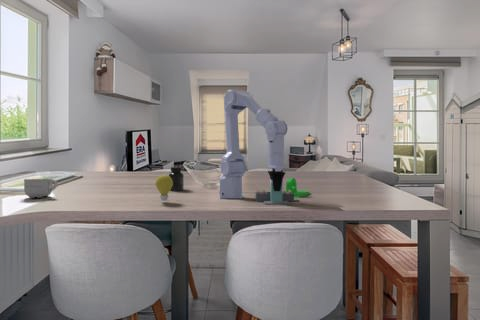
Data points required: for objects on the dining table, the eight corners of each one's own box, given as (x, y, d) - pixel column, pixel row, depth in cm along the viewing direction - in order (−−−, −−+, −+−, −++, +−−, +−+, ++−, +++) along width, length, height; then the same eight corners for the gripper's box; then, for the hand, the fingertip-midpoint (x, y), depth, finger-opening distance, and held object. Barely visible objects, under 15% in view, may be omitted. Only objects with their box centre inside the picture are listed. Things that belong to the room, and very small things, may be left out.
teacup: (18, 198, 163) (17, 178, 163) (40, 195, 173) (40, 177, 173) (42, 199, 158) (42, 179, 158) (64, 196, 168) (64, 178, 168)
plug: (270, 202, 143) (270, 180, 143) (269, 201, 147) (269, 179, 147) (283, 202, 143) (283, 180, 143) (281, 201, 148) (281, 179, 147)
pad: (264, 204, 141) (264, 203, 141) (263, 201, 149) (263, 200, 149) (289, 204, 141) (289, 203, 141) (287, 201, 149) (287, 200, 149)
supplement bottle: (181, 192, 188) (181, 166, 188) (185, 193, 182) (185, 167, 182) (167, 192, 185) (167, 167, 185) (171, 193, 179) (170, 167, 179)
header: (256, 201, 150) (256, 191, 150) (255, 199, 157) (255, 189, 157) (294, 201, 150) (294, 191, 150) (291, 199, 157) (291, 189, 157)
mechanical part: (299, 198, 164) (299, 178, 163) (286, 197, 167) (286, 178, 167) (311, 195, 173) (311, 177, 173) (299, 194, 177) (299, 176, 177)
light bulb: (158, 201, 150) (158, 175, 150) (153, 199, 156) (153, 174, 156) (175, 200, 153) (175, 175, 153) (169, 199, 159) (169, 174, 159)
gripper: (289, 153, 138) (289, 192, 138) (284, 153, 152) (284, 188, 152) (269, 153, 138) (269, 192, 138) (266, 153, 152) (266, 188, 152)
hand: (276, 190), depth 145 cm, fingers open, 6 cm apart
